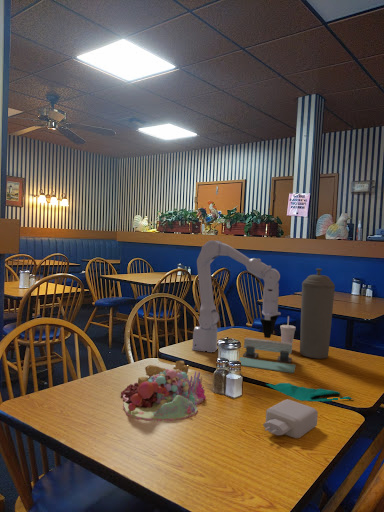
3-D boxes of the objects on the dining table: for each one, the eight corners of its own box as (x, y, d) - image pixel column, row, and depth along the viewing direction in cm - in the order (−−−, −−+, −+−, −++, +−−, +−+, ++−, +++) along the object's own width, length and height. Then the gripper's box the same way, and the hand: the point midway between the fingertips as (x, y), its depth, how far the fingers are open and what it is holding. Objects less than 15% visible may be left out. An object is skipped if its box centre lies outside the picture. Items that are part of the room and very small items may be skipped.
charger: (251, 434, 95) (283, 415, 106) (286, 449, 89) (316, 428, 100) (252, 414, 95) (284, 397, 106) (287, 428, 89) (318, 409, 100)
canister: (334, 361, 156) (340, 270, 155) (301, 359, 157) (307, 269, 155) (324, 351, 169) (330, 268, 167) (294, 350, 169) (299, 266, 168)
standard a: (242, 356, 157) (243, 347, 156) (245, 352, 162) (246, 343, 162) (255, 358, 155) (256, 349, 155) (258, 354, 161) (258, 345, 161)
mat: (231, 364, 146) (231, 363, 146) (236, 357, 155) (236, 356, 155) (293, 373, 140) (293, 372, 140) (295, 365, 148) (295, 364, 148)
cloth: (256, 391, 123) (257, 383, 123) (274, 379, 135) (274, 372, 135) (346, 415, 109) (346, 407, 109) (357, 399, 120) (357, 392, 120)
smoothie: (278, 350, 168) (280, 316, 167) (279, 346, 174) (281, 314, 173) (294, 352, 166) (296, 318, 165) (294, 348, 172) (296, 315, 172)
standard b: (276, 361, 153) (277, 351, 152) (278, 356, 158) (279, 347, 158) (290, 363, 151) (291, 353, 151) (291, 358, 157) (292, 349, 157)
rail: (243, 347, 158) (244, 338, 158) (245, 346, 161) (245, 337, 160) (291, 354, 152) (291, 344, 152) (291, 352, 155) (292, 343, 155)
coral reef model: (115, 387, 120) (116, 356, 120) (191, 382, 127) (192, 353, 127) (128, 426, 96) (130, 388, 96) (220, 417, 104) (222, 381, 103)
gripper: (279, 304, 147) (277, 341, 148) (282, 298, 161) (281, 332, 162) (259, 302, 150) (257, 338, 150) (265, 297, 163) (263, 330, 164)
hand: (268, 335), depth 156 cm, fingers open, 7 cm apart
